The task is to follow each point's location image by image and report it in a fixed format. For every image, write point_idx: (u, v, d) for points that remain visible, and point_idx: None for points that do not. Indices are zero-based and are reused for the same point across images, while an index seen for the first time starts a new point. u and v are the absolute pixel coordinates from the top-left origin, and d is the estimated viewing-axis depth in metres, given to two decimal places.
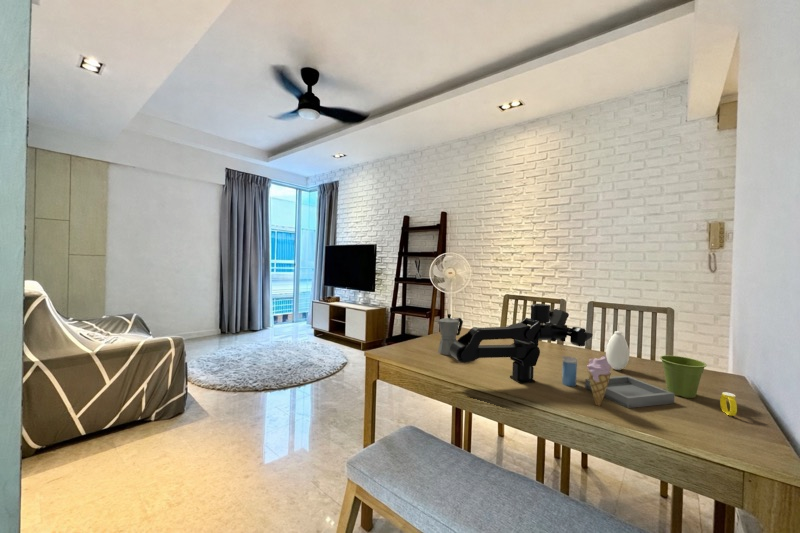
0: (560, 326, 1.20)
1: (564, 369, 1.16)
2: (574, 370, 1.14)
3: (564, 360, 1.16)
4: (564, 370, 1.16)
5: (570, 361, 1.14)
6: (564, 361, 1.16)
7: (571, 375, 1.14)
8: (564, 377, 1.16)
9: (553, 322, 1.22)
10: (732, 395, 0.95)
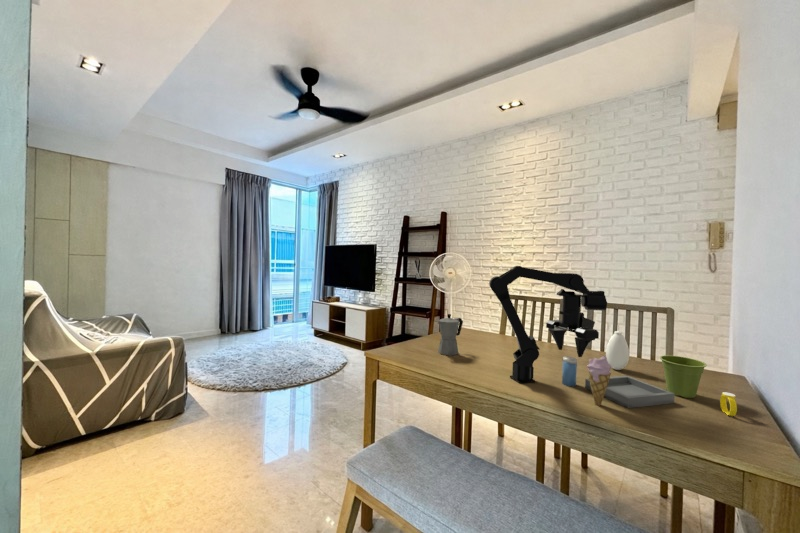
0: (583, 319, 1.14)
1: (564, 369, 1.16)
2: (574, 370, 1.14)
3: (564, 360, 1.16)
4: (564, 370, 1.16)
5: (570, 361, 1.14)
6: (564, 361, 1.16)
7: (571, 375, 1.14)
8: (564, 377, 1.16)
9: None
10: (732, 395, 0.95)
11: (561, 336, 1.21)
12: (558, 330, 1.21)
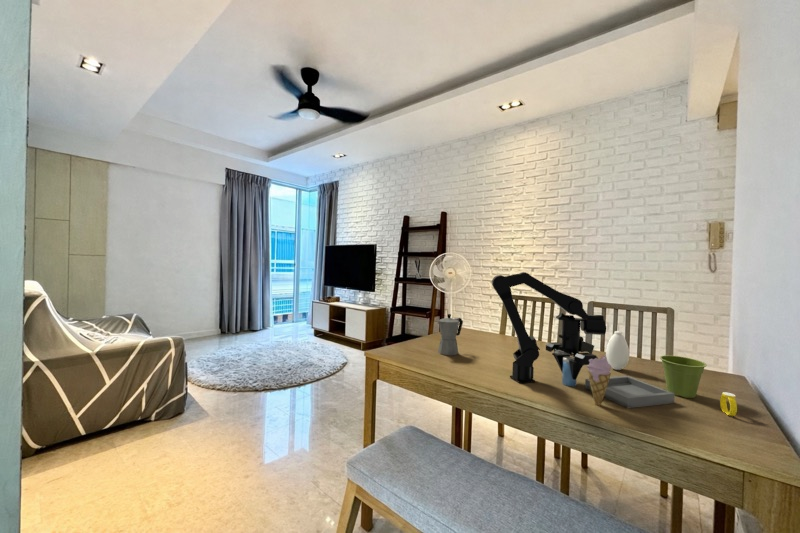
0: (582, 344, 1.14)
1: (564, 369, 1.16)
2: None
3: (564, 360, 1.16)
4: (564, 370, 1.16)
5: None
6: (564, 361, 1.16)
7: (571, 375, 1.14)
8: (564, 377, 1.16)
9: None
10: (732, 395, 0.95)
11: None
12: (562, 355, 1.19)
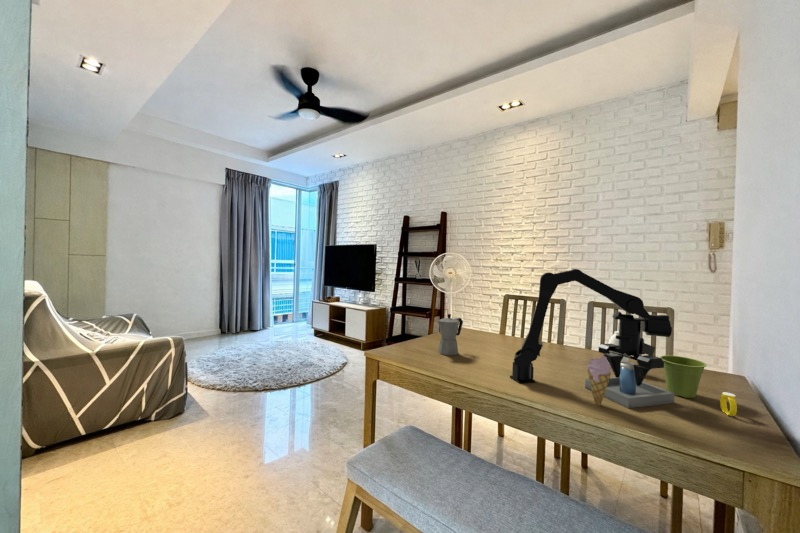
0: (643, 345, 1.05)
1: (622, 376, 1.07)
2: (634, 377, 1.06)
3: (622, 366, 1.07)
4: (622, 377, 1.07)
5: (630, 367, 1.06)
6: (622, 367, 1.07)
7: (631, 382, 1.06)
8: (623, 384, 1.07)
9: None
10: (732, 395, 0.95)
11: (618, 362, 1.12)
12: (615, 356, 1.12)
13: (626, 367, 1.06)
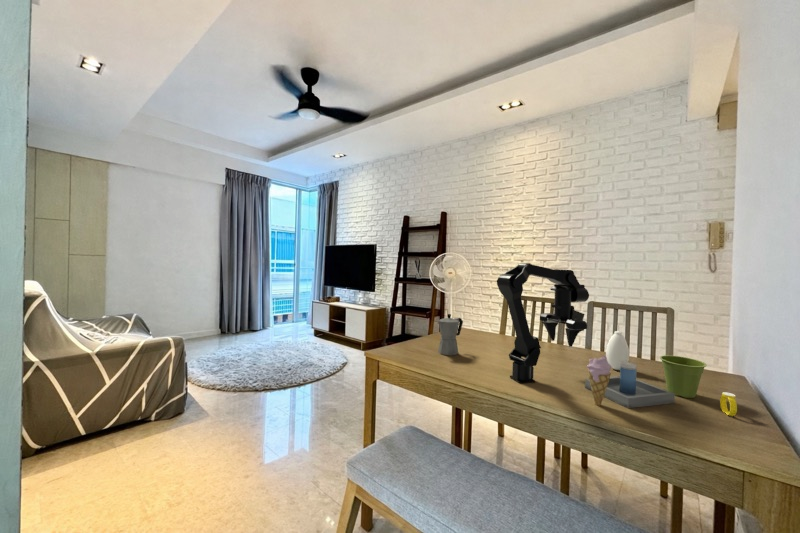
0: (573, 312, 1.24)
1: (622, 376, 1.07)
2: (634, 377, 1.06)
3: (622, 366, 1.07)
4: (622, 377, 1.07)
5: (630, 367, 1.06)
6: (622, 367, 1.07)
7: (631, 382, 1.06)
8: (623, 384, 1.07)
9: None
10: (732, 395, 0.95)
11: (553, 328, 1.31)
12: (551, 322, 1.31)
13: (626, 367, 1.06)
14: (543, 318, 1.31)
